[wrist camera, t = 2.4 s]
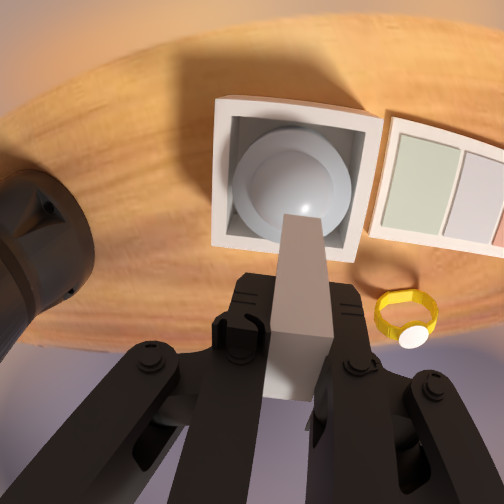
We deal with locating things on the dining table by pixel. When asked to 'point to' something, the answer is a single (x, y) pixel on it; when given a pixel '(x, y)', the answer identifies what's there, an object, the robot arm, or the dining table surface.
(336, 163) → the dome
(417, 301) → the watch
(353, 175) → the base
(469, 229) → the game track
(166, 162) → the dining table surface
